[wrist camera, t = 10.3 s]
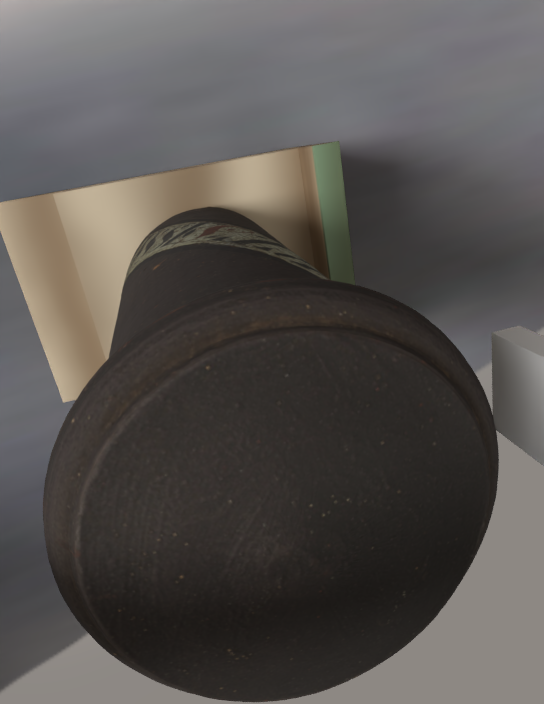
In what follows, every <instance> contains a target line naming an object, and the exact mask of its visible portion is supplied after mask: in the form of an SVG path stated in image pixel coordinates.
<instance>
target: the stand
mask: <svg viewBox="0 0 544 704" xmlns="http://www.w3.org/2000/svg"><path fill="white" fill-rule="evenodd" d="M205 207H218V208H224V209H228V210H232V211H235V212H237V213H239V214H241V215H243V216H245V217H247V218H249V219H250V220H252V221H253V222H255V223H256V224H258V225H259V226H260V227H262V228H263V229H264V230H265V231H267V232H268V233H269V234H270V235H272V236H273V237H274V238H276V239H277V240H278V241H279V242H281V243H282V244H283V245H284V246H286V247H287V248H288V249H290V250H291V251H292V252H294V253H295V254H296V255H298V256H300V257H301V258H302V259H304V260H305V261H306V262H308V263H309V264H310V265H311V266H313V267H314V268H316V269H317V270H318V271H319V272H320V273H321V274H323V275H324V276H325V277H326V278H328V279H329V280H333V281H338V282H343V283H349V284H353V285H355V279H354V270H353V261H352V252H351V243H350V234H349V226H348V217H347V208H346V199H345V190H344V181H343V173H342V164H341V155H340V146H339V141H337V142H329V143H322V144H315V145H308V146H301V147H294V148H287V149H282V150H276V151H271V152H266V153H260V154H255V155H250V156H244V157H239V158H234V159H228V160H223V161H218V162H212V163H207V164H202V165H196V166H191V167H186V168H180V169H175V170H170V171H164V172H159V173H154V174H148V175H143V176H138V177H132V178H127V179H122V180H116V181H111V182H106V183H100V184H95V185H90V186H84V187H79V188H74V189H68V190H63V191H58V192H52V193H47V194H42V195H36V196H31V197H26V198H20V199H15V200H10V201H5V202H0V231H1V234H2V237H3V239H4V242H5V245H6V247H7V250H8V253H9V256H10V258H11V261H12V264H13V267H14V269H15V272H16V275H17V277H18V280H19V283H20V286H21V288H22V291H23V294H24V296H25V299H26V302H27V305H28V307H29V310H30V313H31V316H32V318H33V321H34V324H35V326H36V329H37V332H38V335H39V337H40V340H41V343H42V345H43V348H44V351H45V354H46V356H47V359H48V362H49V365H50V367H51V370H52V373H53V375H54V378H55V381H56V384H57V386H58V389H59V392H60V395H61V397H62V400H63V403H64V402H68V401H72V400H76V399H77V398H78V396H79V395H80V393H81V392H82V390H83V388H84V387H85V386H86V384H87V383H88V382H89V380H90V379H91V378H92V377H93V375H94V374H95V373H96V372H97V371H98V369H99V368H100V367H101V366H102V365H103V364H104V363H105V362H106V361H107V360H108V359H109V353H110V349H111V343H112V338H113V333H114V328H115V324H116V320H117V315H118V310H119V305H120V300H121V294H122V289H123V285H124V281H125V277H126V273H127V270H128V267H129V265H130V262H131V260H132V258H133V256H134V254H135V252H136V250H137V248H138V247H139V245H140V244H141V242H142V241H143V240H144V238H145V237H146V236H147V235H148V234H149V233H150V232H151V231H152V230H154V229H155V228H156V227H157V226H159V225H160V224H161V223H163V222H164V221H166V220H167V219H169V218H171V217H172V216H174V215H177V214H179V213H182V212H185V211H188V210H192V209H198V208H205Z"/></svg>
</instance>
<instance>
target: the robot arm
mask: <svg viewBox="0 0 544 704" xmlns="http://www.w3.org/2000/svg"><path fill="white" fill-rule="evenodd" d="M492 387H493V388H492V389H493V419H494V423H495V429H496V430H497V431H498V432H499V433H501V434H502V435H503V436H505V437H506V438H507V439H509V440H510V441H511V442H513V443H514V444H515V445H517V446H518V447H519V448H521V449H522V450H524V451H525V452H526V453H527V454H529V455H530V456H532V457H533V458H534V459H535V460H537V461H538V462H539V463H541V464H542V465H543V466H544V336H542V335H540V334H538V333H535V332H533V331H531V330H528V329H526V328H524V327H521V326H516V327H512V328H508V329H504V330H500V331H496V332H492Z"/></svg>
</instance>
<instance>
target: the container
mask: <svg viewBox="0 0 544 704" xmlns="http://www.w3.org/2000/svg"><path fill="white" fill-rule="evenodd" d="M498 461H499V459H498V443H497V435H496V429H495V423H494V419H493V415H492V412H491V408H490V405H489V403H488V400H487V397H486V395H485V392H484V390H483V388H482V386H481V384H480V382H479V380H478V378H477V376H476V375H475V373H474V371H473V370H472V368H471V367H470V365H469V364H468V363H467V361H466V359H465V358H464V356H463V355H462V354H461V352H460V351H459V350H458V349H457V347H456V346H455V345H454V344H453V343H452V342H451V341H450V340H449V338H448V337H447V336H446V335H445V334H444V333H443V332H442V331H441V330H440V329H438V328H437V327H436V326H435V325H434V324H432V323H431V322H430V321H429V320H428V319H426V318H425V317H424V316H422V315H421V314H420V313H418V312H416V311H415V310H413V309H412V308H410V307H408V306H406V305H404V304H403V303H401V302H399V301H397V300H395V299H393V298H391V297H388V296H386V295H384V294H381V293H379V292H376V291H373V290H370V289H367V288H364V287H360V286H356V285H353V284H349V283H343V282H338V281H333V280H329V279H328V278H326V277H325V276H324V275H323V274H321V273H320V272H319V271H318V270H317V269H316V268H314V267H313V266H311V265H310V264H309V263H308V262H306V261H305V260H304V259H302V258H301V257H300V256H298V255H296V254H295V253H294V252H292V251H291V250H290V249H288V248H287V247H286V246H284V245H283V244H282V243H281V242H279V241H278V240H277V239H276V238H274V237H273V236H272V235H270V234H269V233H268V232H267V231H265V230H264V229H263V228H262V227H260V226H259V225H258V224H256V223H255V222H253V221H252V220H250V219H249V218H247V217H245V216H243V215H241V214H239V213H237V212H235V211H232V210H228V209H224V208H218V207H205V208H198V209H192V210H188V211H185V212H182V213H179V214H177V215H174V216H172V217H171V218H169V219H167V220H166V221H164V222H163V223H161V224H160V225H159V226H157V227H156V228H155V229H154V230H152V231H151V232H150V233H149V234H148V235H147V236H146V237H145V238H144V240H143V241H142V242H141V244H140V245H139V247H138V248H137V250H136V252H135V254H134V256H133V258H132V260H131V262H130V265H129V267H128V270H127V273H126V277H125V281H124V285H123V289H122V294H121V300H120V305H119V310H118V315H117V320H116V324H115V328H114V333H113V338H112V343H111V349H110V353H109V359H108V360H107V361H106V362H105V363H104V364H103V365H102V366H101V367H100V368H99V369H98V371H97V372H96V373H95V374H94V375H93V377H92V378H91V379H90V380H89V382H88V383H87V384H86V386H85V387H84V388H83V390H82V392H81V393H80V395H79V396H78V398H77V399H76V401H75V403H74V404H73V406H72V408H71V410H70V411H69V413H68V415H67V417H66V419H65V421H64V423H63V425H62V427H61V430H60V432H59V434H58V437H57V440H56V442H55V444H54V447H53V450H52V453H51V457H50V461H49V465H48V470H47V474H46V479H45V487H44V498H43V521H44V533H45V540H46V548H47V553H48V558H49V562H50V565H51V568H52V572H53V575H54V578H55V580H56V583H57V585H58V588H59V590H60V593H61V595H62V597H63V598H64V600H65V602H66V603H67V605H68V607H69V608H70V610H71V612H72V613H73V614H74V616H75V617H76V619H77V620H78V621H79V623H80V624H81V625H82V626H83V627H84V629H85V630H86V631H87V632H88V633H89V634H90V635H91V636H92V637H93V638H94V639H95V641H96V642H97V643H98V644H99V645H101V646H102V647H103V648H104V649H105V650H106V651H107V652H109V653H110V654H111V655H112V656H114V657H115V658H117V659H118V660H119V661H121V662H122V663H124V664H125V665H127V666H129V667H130V668H132V669H134V670H135V671H137V672H139V673H141V674H143V675H145V676H147V677H149V678H151V679H152V680H155V681H157V682H159V683H162V684H164V685H167V686H169V687H172V688H175V689H178V690H182V691H185V692H188V693H192V694H196V695H200V696H203V697H207V698H212V699H218V700H227V701H242V702H267V701H279V700H287V699H291V698H298V697H302V696H306V695H311V694H314V693H317V692H321V691H324V690H327V689H330V688H332V687H335V686H337V685H339V684H342V683H344V682H346V681H349V680H350V679H353V678H355V677H357V676H359V675H361V674H363V673H364V672H367V671H368V670H370V669H372V668H373V667H375V666H377V665H378V664H380V663H382V662H383V661H385V660H386V659H388V658H389V657H391V656H393V655H394V654H395V653H397V652H398V651H399V650H400V649H402V648H403V647H405V646H406V645H407V644H408V643H409V642H411V641H412V640H413V639H414V638H415V637H416V636H417V635H418V634H419V633H420V632H422V631H423V630H424V629H425V628H426V626H427V625H429V623H430V622H431V621H432V620H433V619H434V618H435V617H436V616H437V615H438V613H439V612H440V610H441V609H442V608H443V606H444V605H445V604H446V603H447V601H448V600H449V599H450V597H451V596H452V594H453V593H454V591H455V590H456V588H457V586H458V585H459V584H460V582H461V580H462V579H463V577H464V575H465V574H466V572H467V570H468V569H469V567H470V565H471V563H472V562H473V559H474V558H475V555H476V554H477V551H478V549H479V547H480V545H481V543H482V540H483V537H484V535H485V533H486V530H487V528H488V524H489V521H490V518H491V514H492V510H493V506H494V502H495V498H496V491H497V481H498Z"/></svg>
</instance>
